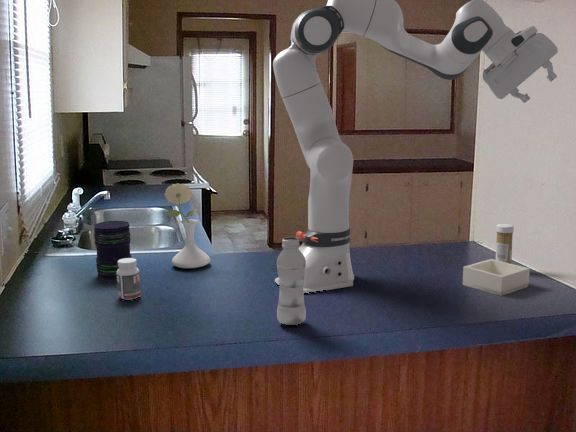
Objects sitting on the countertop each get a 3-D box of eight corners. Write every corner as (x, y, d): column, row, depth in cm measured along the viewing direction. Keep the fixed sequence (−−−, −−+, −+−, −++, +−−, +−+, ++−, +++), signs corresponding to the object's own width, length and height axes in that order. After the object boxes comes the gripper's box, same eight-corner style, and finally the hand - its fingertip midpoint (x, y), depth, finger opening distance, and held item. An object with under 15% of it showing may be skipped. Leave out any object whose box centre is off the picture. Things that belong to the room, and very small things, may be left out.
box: (500, 296, 170) (501, 277, 169) (462, 284, 179) (463, 266, 178) (528, 286, 177) (529, 268, 176) (490, 276, 186) (491, 258, 185)
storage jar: (100, 282, 185) (96, 229, 182) (94, 273, 194) (90, 222, 191) (136, 277, 189) (132, 226, 186) (129, 268, 198) (126, 219, 195)
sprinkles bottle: (514, 271, 191) (517, 225, 188) (503, 274, 188) (506, 227, 185) (501, 267, 194) (503, 222, 192) (490, 270, 192) (493, 224, 189)
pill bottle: (145, 295, 174) (143, 258, 172) (133, 302, 169) (131, 264, 167) (126, 293, 176) (123, 256, 174) (113, 300, 171) (111, 262, 169)
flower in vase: (215, 261, 205) (212, 180, 199) (204, 272, 194) (200, 186, 188) (174, 260, 207) (170, 179, 202) (161, 270, 196) (156, 186, 191)
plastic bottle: (275, 319, 156) (274, 235, 151) (304, 318, 156) (304, 234, 152) (277, 329, 149) (276, 242, 145) (308, 328, 150) (307, 241, 146)
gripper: (474, 78, 183) (507, 117, 182) (528, 28, 167) (565, 70, 166) (484, 71, 187) (517, 109, 185) (538, 21, 171) (574, 62, 170)
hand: (540, 90), depth 175 cm, fingers open, 8 cm apart
